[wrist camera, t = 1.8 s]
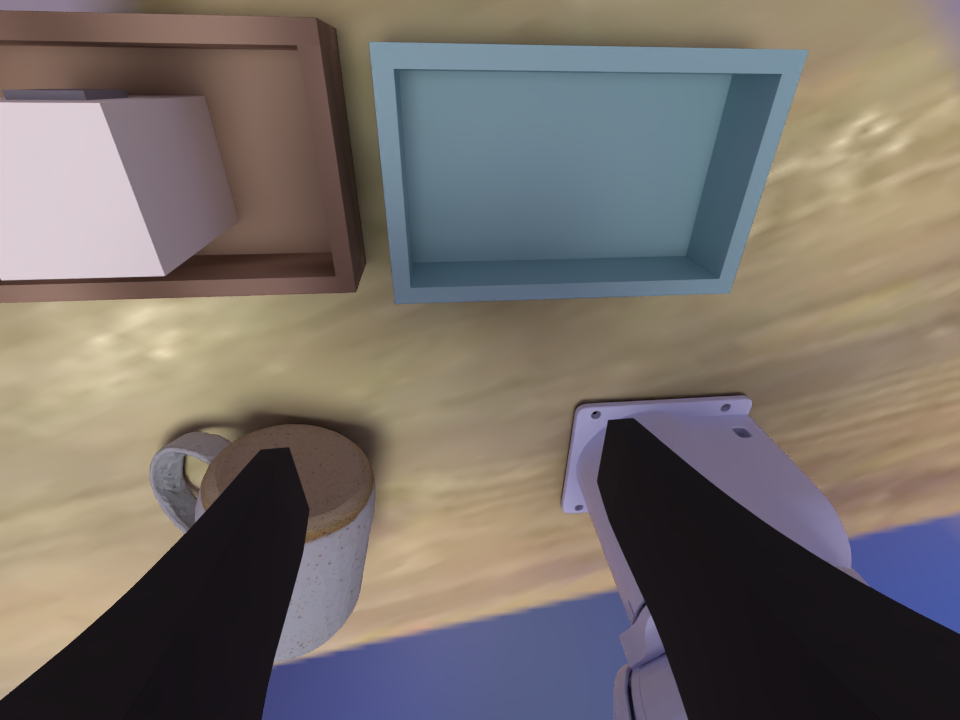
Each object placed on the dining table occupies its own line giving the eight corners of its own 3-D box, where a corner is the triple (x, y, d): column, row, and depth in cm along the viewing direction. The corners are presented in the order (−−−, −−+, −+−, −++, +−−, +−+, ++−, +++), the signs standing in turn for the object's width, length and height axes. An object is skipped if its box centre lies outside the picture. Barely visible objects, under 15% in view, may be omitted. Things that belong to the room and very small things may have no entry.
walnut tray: (335, 28, 14) (315, 17, 12) (365, 262, 18) (355, 292, 16) (-110, 19, 13) (-238, 5, 11) (27, 270, 17) (-42, 304, 15)
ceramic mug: (388, 422, 23) (368, 558, 16) (369, 528, 27) (347, 671, 20) (156, 391, 21) (27, 532, 14) (174, 510, 25) (80, 663, 18)
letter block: (202, 88, 14) (95, 92, 10) (238, 221, 17) (165, 276, 12) (68, 87, 14) (-110, 90, 9) (123, 222, 16) (1, 280, 12)
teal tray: (747, 54, 16) (808, 50, 13) (691, 265, 20) (729, 293, 17) (379, 48, 15) (369, 41, 12) (399, 273, 19) (394, 304, 16)
